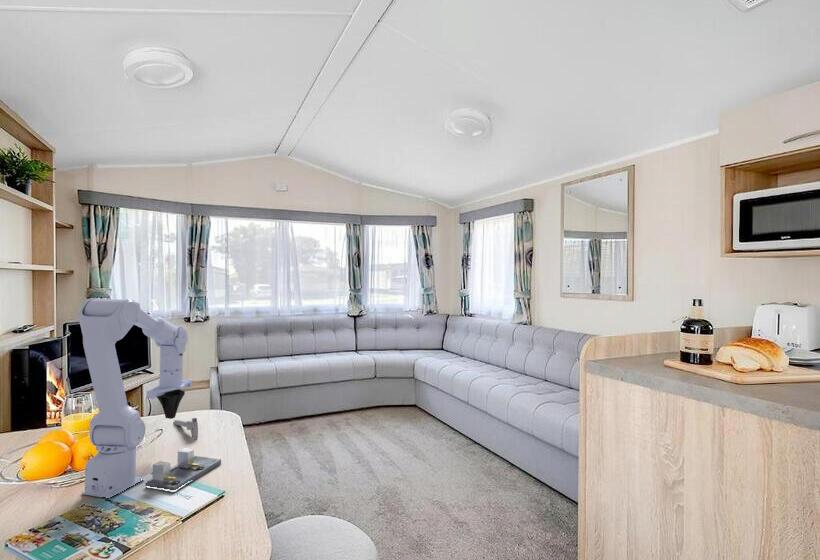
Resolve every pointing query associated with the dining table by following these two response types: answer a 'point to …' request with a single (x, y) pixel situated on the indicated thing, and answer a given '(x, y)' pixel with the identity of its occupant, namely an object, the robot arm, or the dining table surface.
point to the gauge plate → (180, 473)
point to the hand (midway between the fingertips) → (170, 417)
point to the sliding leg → (186, 458)
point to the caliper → (189, 426)
